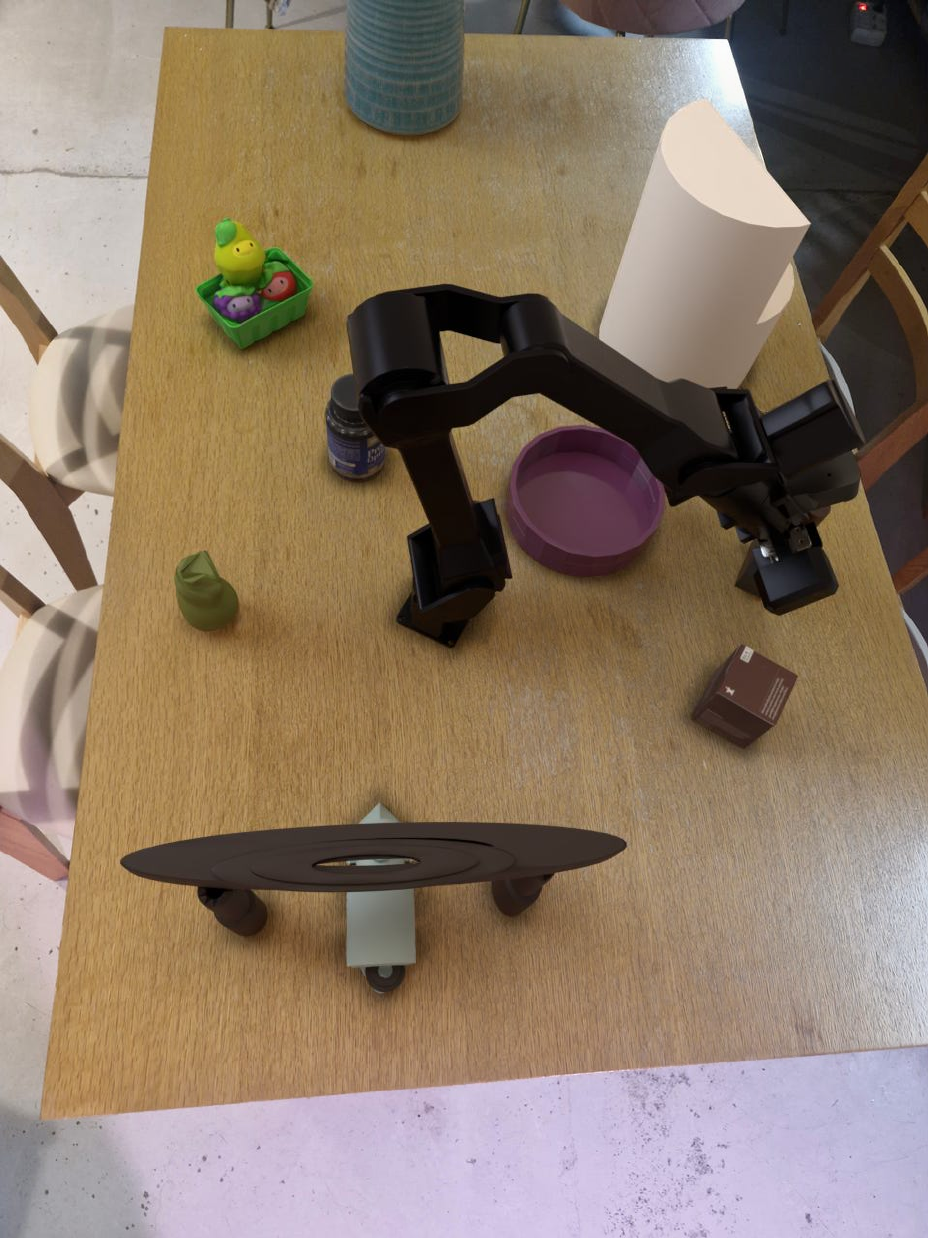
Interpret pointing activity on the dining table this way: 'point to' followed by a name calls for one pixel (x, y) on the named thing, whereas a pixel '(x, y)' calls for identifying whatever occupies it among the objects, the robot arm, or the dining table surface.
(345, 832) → the round plant dolly
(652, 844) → the dining table surface
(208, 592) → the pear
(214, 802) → the dining table surface
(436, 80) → the vase
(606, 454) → the bowl
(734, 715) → the box
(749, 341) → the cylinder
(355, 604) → the dining table surface
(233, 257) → the fruit basket
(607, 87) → the dining table surface
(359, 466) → the pill bottle
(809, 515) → the hammer
